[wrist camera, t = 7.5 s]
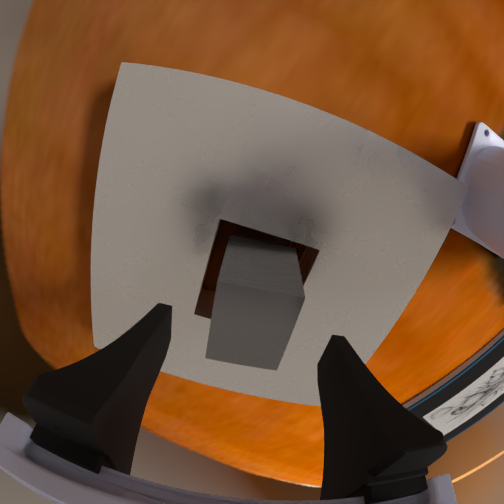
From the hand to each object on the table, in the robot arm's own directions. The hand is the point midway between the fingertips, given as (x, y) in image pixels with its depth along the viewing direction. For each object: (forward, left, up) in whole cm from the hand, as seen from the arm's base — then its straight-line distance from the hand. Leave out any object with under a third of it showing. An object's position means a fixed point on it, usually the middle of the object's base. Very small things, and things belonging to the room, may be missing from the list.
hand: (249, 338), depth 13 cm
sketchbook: (-37, +7, -8) cm, 38 cm away
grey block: (0, 0, -7) cm, 7 cm away
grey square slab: (0, 0, -7) cm, 7 cm away
